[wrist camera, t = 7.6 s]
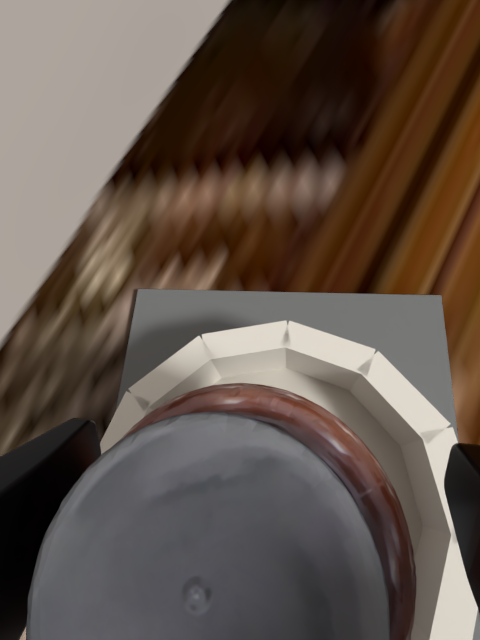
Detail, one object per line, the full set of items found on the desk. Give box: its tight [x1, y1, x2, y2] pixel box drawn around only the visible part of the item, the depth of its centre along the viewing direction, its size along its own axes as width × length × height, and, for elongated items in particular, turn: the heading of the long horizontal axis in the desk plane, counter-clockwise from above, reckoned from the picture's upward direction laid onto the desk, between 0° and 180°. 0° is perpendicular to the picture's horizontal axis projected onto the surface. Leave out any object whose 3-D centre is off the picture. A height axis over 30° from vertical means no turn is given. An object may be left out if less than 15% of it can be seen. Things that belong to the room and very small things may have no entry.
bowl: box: [100, 320, 478, 640], centre depth 14 cm, size 12×12×4 cm
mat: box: [115, 289, 480, 640], centre depth 16 cm, size 18×14×1 cm
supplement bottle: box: [26, 383, 416, 640], centre depth 9 cm, size 6×6×11 cm
